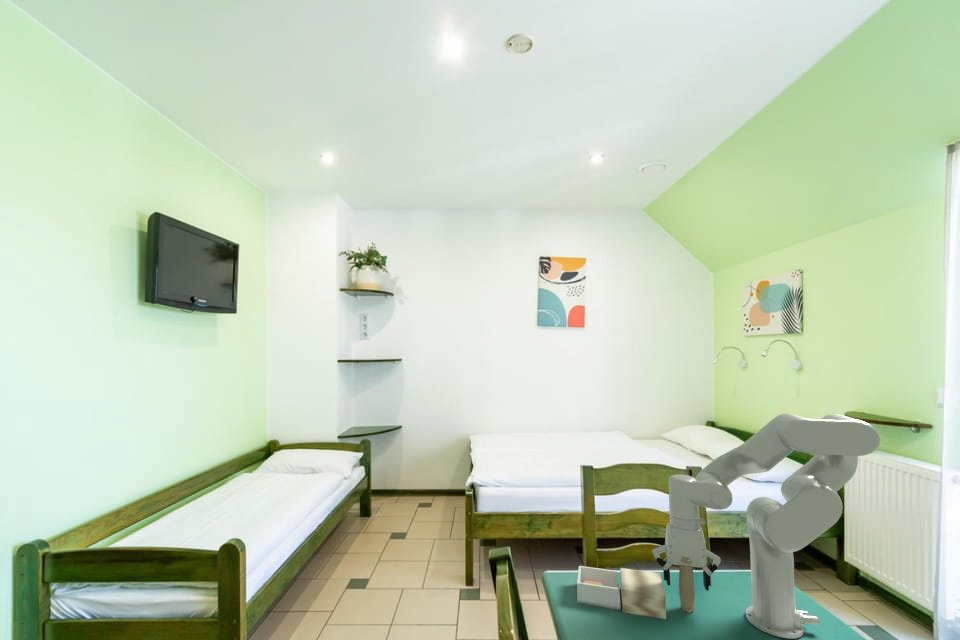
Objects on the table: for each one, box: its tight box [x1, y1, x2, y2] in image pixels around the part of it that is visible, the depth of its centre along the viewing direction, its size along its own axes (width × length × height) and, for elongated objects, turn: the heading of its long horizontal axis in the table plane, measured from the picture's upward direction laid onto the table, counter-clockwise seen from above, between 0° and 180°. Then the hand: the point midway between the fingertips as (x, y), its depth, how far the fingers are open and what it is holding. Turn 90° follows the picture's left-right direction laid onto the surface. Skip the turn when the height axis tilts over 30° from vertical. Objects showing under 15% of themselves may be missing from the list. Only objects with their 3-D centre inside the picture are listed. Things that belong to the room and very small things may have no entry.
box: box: [576, 565, 621, 611], centre depth 125 cm, size 12×10×5 cm
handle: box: [678, 557, 696, 614], centre depth 119 cm, size 5×6×15 cm
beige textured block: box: [619, 567, 667, 620], centre depth 122 cm, size 11×12×6 cm
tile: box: [584, 580, 602, 586], centre depth 125 cm, size 5×5×2 cm
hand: (686, 585), depth 119 cm, fingers open, 9 cm apart
